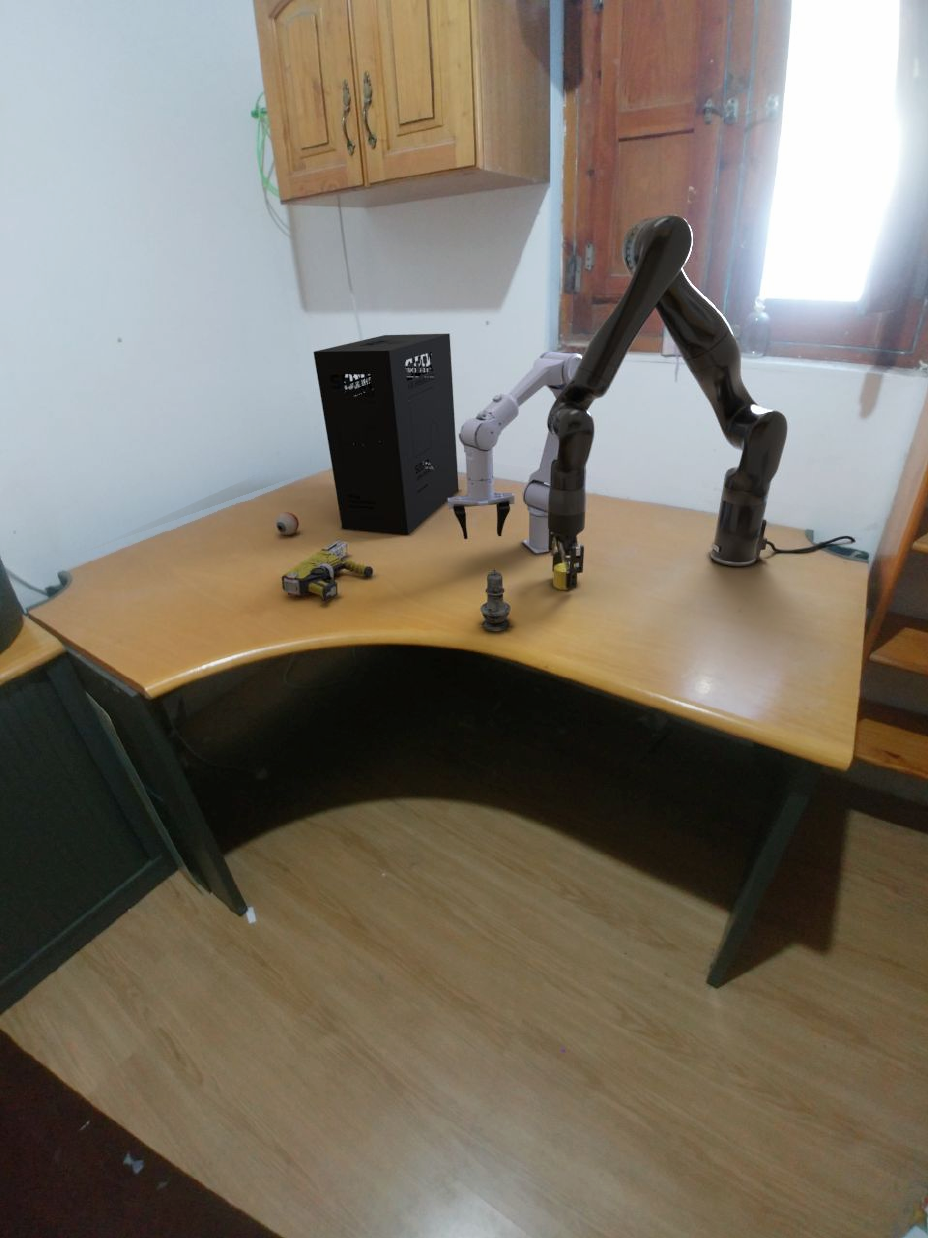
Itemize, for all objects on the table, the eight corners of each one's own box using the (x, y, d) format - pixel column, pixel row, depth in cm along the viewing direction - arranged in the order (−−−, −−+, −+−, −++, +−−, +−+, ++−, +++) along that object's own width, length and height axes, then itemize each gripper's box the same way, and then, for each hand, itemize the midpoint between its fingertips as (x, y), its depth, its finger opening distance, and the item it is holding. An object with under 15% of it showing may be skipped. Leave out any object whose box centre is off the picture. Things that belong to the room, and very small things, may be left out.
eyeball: (273, 537, 164) (268, 516, 161) (287, 528, 169) (282, 508, 166) (291, 539, 161) (286, 518, 158) (305, 530, 166) (301, 510, 163)
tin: (573, 590, 128) (574, 572, 126) (551, 588, 130) (552, 571, 127) (576, 580, 132) (577, 563, 130) (555, 579, 133) (555, 561, 131)
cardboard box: (400, 486, 197) (384, 334, 175) (458, 490, 190) (449, 333, 168) (342, 528, 167) (313, 351, 144) (408, 534, 160) (389, 350, 138)
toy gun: (389, 548, 145) (334, 537, 149) (339, 588, 125) (277, 575, 129) (389, 566, 147) (335, 555, 151) (340, 608, 127) (279, 595, 131)
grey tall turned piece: (508, 633, 114) (507, 576, 108) (478, 631, 116) (475, 574, 110) (512, 617, 119) (512, 562, 113) (483, 615, 120) (481, 561, 114)
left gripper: (447, 485, 126) (451, 545, 132) (516, 479, 126) (517, 540, 133) (445, 475, 132) (449, 533, 138) (511, 470, 132) (511, 528, 139)
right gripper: (598, 516, 117) (593, 591, 125) (571, 494, 129) (568, 564, 137) (562, 521, 115) (559, 597, 124) (537, 498, 128) (536, 568, 136)
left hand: (482, 536), depth 136 cm, fingers open, 7 cm apart
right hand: (564, 579), depth 130 cm, fingers open, 7 cm apart
